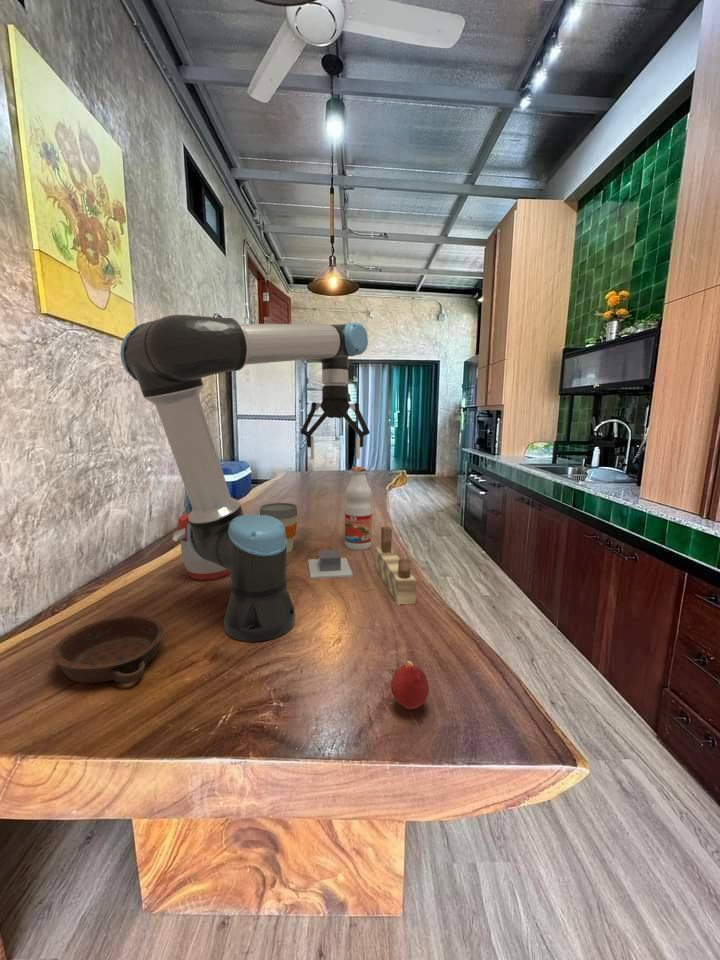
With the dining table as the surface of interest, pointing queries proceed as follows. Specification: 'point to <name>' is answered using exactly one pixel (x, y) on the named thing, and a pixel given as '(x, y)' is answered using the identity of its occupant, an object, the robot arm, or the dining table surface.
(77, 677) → the dish
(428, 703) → the dining table surface
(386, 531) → the wooden peg base
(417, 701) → the onion
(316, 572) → the mat
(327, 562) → the lever cap
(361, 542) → the fruit juice
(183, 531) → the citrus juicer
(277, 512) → the reusable coffee cup
